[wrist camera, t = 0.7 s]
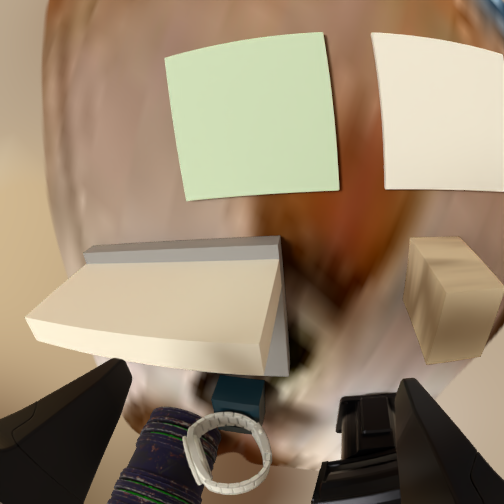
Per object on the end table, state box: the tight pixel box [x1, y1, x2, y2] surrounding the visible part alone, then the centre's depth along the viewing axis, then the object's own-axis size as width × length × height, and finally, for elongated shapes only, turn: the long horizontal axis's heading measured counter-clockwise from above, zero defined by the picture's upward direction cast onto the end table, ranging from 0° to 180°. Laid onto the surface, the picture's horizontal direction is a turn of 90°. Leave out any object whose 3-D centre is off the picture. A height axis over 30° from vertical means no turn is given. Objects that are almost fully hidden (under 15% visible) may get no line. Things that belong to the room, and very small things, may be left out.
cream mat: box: [371, 33, 504, 192], centre depth 14 cm, size 10×10×1 cm
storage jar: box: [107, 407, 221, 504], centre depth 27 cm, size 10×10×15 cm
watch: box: [182, 375, 272, 495], centre depth 23 cm, size 6×8×11 cm
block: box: [403, 236, 504, 365], centre depth 16 cm, size 5×4×7 cm
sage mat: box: [165, 32, 339, 201], centre depth 17 cm, size 10×10×1 cm
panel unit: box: [25, 236, 290, 376], centre depth 20 cm, size 12×16×10 cm
